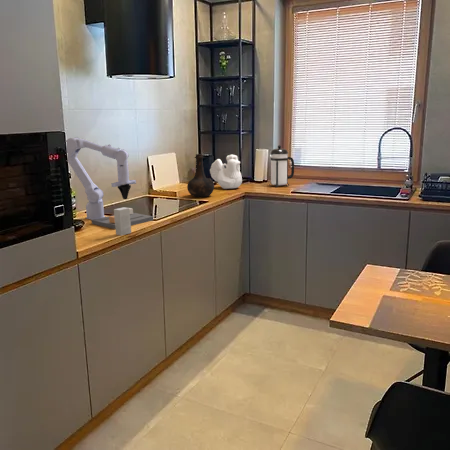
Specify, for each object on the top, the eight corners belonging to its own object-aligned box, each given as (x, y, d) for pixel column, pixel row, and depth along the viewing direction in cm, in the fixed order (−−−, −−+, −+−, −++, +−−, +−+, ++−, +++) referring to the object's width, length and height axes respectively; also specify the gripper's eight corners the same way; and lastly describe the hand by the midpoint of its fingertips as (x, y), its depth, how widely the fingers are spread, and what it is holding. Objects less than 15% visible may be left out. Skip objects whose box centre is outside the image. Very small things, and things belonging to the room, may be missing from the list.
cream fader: (122, 214, 246) (122, 209, 245) (128, 212, 249) (128, 207, 248) (127, 215, 244) (126, 209, 243) (133, 213, 247) (132, 208, 246)
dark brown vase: (210, 199, 297) (209, 155, 290) (184, 198, 301) (182, 155, 294) (217, 194, 314) (216, 152, 307) (191, 193, 318) (190, 152, 311)
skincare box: (125, 231, 218) (123, 207, 215) (131, 233, 216) (129, 208, 213) (115, 234, 214) (113, 209, 211) (121, 235, 211) (119, 210, 208)
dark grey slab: (91, 223, 236) (91, 219, 235) (129, 215, 254) (129, 211, 253) (115, 229, 223) (115, 225, 223) (153, 220, 241) (153, 216, 240)
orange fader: (109, 222, 228) (109, 216, 228) (116, 220, 231) (115, 215, 231) (114, 223, 226) (113, 217, 225) (121, 221, 229) (120, 216, 228)
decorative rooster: (246, 188, 336) (246, 153, 331) (232, 191, 325) (231, 155, 319) (221, 185, 353) (220, 152, 347) (206, 188, 341) (205, 154, 335)
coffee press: (287, 188, 333) (287, 146, 326) (266, 187, 340) (266, 145, 333) (294, 184, 348) (294, 144, 341) (274, 183, 355) (274, 144, 348)
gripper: (116, 175, 234) (118, 201, 237) (139, 172, 244) (140, 197, 248) (108, 174, 238) (110, 200, 241) (130, 171, 249) (132, 196, 252)
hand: (125, 198), depth 245 cm, fingers closed
